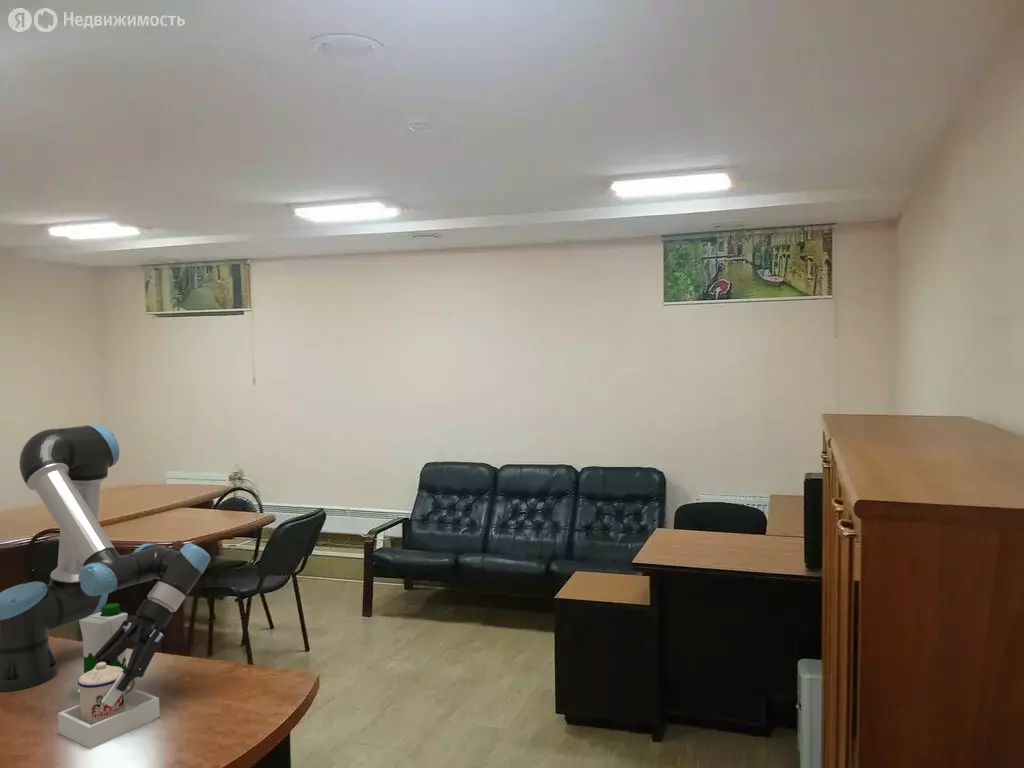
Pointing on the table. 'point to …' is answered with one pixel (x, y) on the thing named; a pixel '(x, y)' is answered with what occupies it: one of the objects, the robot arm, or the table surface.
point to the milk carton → (101, 634)
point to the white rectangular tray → (109, 720)
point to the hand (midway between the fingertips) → (94, 699)
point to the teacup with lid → (100, 693)
